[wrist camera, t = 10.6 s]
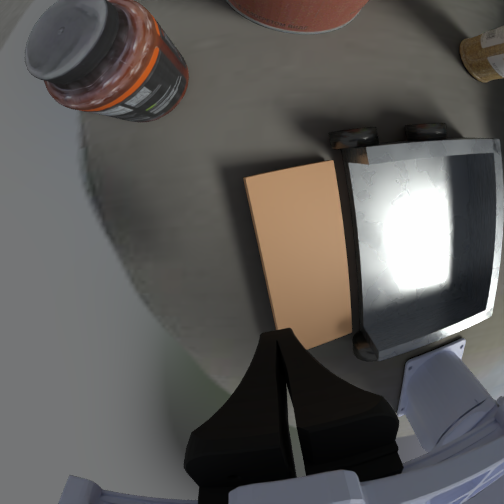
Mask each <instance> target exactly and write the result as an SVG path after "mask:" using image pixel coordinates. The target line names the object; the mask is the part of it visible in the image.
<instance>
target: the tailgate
mask: <svg viewBox="0 0 504 504" xmlns="http://www.w3.org/2000/svg"><path fill="white" fill-rule="evenodd" d="M243 180H244V184H245V189H246V193H247V198H248V202H249V207H250V212H251V216H252V221H253V225H254V230H255V234H256V239H257V243H258V248H259V253H260V257H261V262H262V266H263V271H264V276H265V280H266V285H267V290H268V294H269V299H270V304H271V308H272V313H273V318H274V322H275V327H276V330H280V329H285V328H291V329H292V330H293V332H294V334H295V336H296V337H297V339H298V340H299V341H300V343H301V344H302V345H303V346H304V347H305V349H306V350H307V349H310V348H313V347H316V346H318V345H321V344H324V343H326V342H329V341H332V340H334V339H337V338H339V337H342V336H344V335H347V334H349V333H352V319H351V301H350V287H349V275H348V264H347V254H346V244H345V236H344V227H343V219H342V212H341V205H340V198H339V191H338V185H337V179H336V173H335V167H334V161H333V160H327V161H322V162H316V163H311V164H305V165H300V166H295V167H290V168H285V169H280V170H275V171H270V172H266V173H261V174H256V175H252V176H248V177H243Z"/></svg>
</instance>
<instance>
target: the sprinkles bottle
mask: <svg viewBox="0 0 504 504" xmlns="http://www.w3.org/2000/svg"><path fill="white" fill-rule="evenodd" d="M460 55H461V59H462V61H463V63H464V66H465V67H466V68H467V70H468V71H469V73H470V74H471V75H472V76H473V77H474V78H475V79H476V80H478V81H481V82H484V83H486V82H489V81H490V80H495V79H501V78H504V26H502V27H498V28H495V29H492V30H490V31H487V32H484V33H483V34H481V35H479V36H476V37H473V38H467V39H464V40H462V42H461V44H460Z"/></svg>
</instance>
